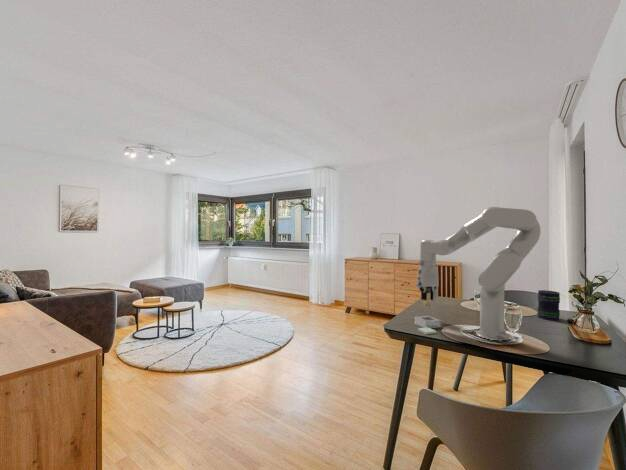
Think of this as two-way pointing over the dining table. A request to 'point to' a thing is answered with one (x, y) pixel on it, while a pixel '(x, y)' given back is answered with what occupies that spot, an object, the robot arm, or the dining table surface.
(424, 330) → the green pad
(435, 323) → the chuck block
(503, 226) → the robot arm
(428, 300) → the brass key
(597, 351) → the dining table surface
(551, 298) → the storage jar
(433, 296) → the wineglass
